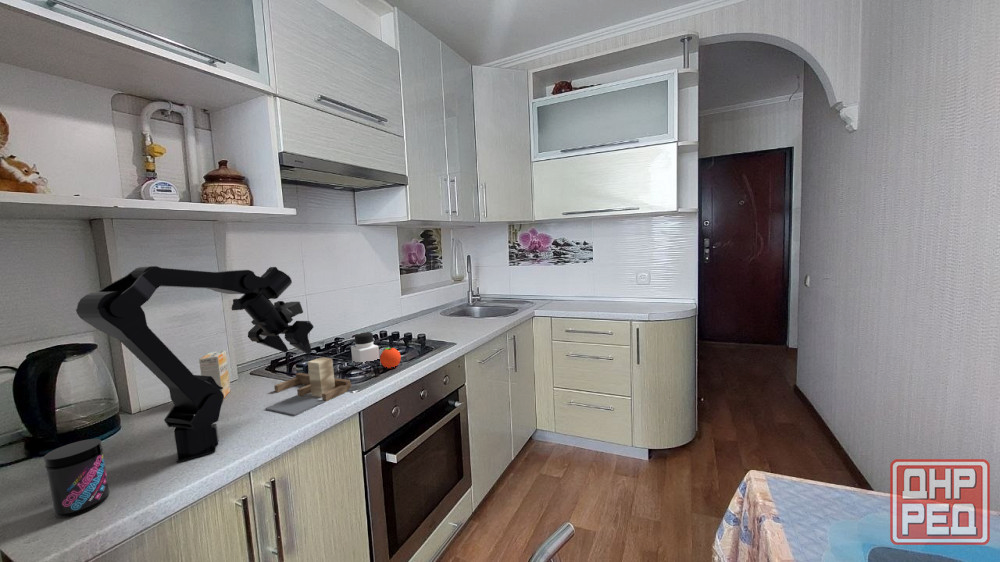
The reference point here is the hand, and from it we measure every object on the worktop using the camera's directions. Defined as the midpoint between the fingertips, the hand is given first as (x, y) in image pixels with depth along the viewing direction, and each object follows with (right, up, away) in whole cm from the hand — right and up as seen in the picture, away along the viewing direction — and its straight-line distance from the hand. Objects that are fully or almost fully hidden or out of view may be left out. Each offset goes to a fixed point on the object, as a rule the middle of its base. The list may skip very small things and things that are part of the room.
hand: (298, 352), depth 109 cm
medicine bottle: (+9, -11, +30) cm, 33 cm away
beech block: (+4, -13, +6) cm, 15 cm away
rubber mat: (0, -14, -2) cm, 14 cm away
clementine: (+18, -10, +27) cm, 34 cm away
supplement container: (-16, -19, -41) cm, 48 cm away
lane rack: (0, -13, +9) cm, 16 cm away
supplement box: (-28, -15, +8) cm, 33 cm away
